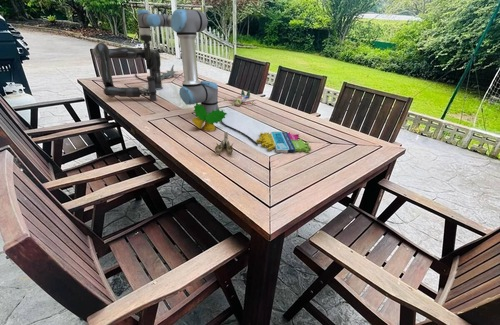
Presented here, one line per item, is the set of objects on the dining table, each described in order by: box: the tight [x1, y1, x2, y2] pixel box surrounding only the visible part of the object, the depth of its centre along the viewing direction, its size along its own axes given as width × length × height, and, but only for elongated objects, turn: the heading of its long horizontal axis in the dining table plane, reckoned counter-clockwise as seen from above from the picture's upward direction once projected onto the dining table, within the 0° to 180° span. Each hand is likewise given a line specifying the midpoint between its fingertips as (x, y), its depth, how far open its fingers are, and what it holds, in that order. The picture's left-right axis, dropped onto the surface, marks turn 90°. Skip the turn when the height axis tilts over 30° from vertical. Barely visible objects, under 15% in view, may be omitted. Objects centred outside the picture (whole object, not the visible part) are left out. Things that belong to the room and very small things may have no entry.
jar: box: [147, 80, 158, 102], centre depth 204 cm, size 5×5×18 cm
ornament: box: [191, 102, 228, 132], centre depth 162 cm, size 21×8×15 cm, turn 105°
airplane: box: [160, 64, 184, 81], centre depth 280 cm, size 38×31×10 cm
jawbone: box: [214, 131, 234, 156], centre depth 136 cm, size 9×15×10 cm
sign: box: [255, 131, 312, 154], centre depth 152 cm, size 26×2×30 cm
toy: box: [223, 89, 257, 106], centre depth 219 cm, size 28×7×30 cm
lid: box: [146, 75, 155, 81], centre depth 200 cm, size 6×6×2 cm
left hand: (155, 92), depth 206 cm, fingers closed on jar, 5 cm apart
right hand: (149, 68), depth 197 cm, fingers open, 8 cm apart
